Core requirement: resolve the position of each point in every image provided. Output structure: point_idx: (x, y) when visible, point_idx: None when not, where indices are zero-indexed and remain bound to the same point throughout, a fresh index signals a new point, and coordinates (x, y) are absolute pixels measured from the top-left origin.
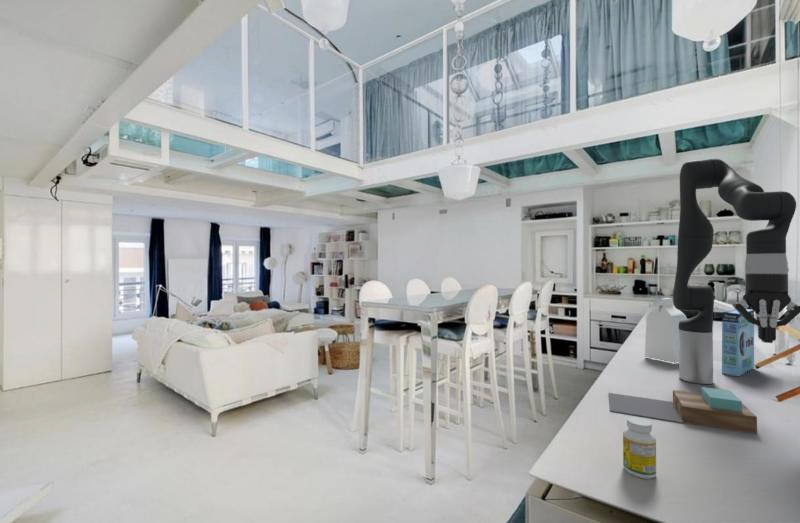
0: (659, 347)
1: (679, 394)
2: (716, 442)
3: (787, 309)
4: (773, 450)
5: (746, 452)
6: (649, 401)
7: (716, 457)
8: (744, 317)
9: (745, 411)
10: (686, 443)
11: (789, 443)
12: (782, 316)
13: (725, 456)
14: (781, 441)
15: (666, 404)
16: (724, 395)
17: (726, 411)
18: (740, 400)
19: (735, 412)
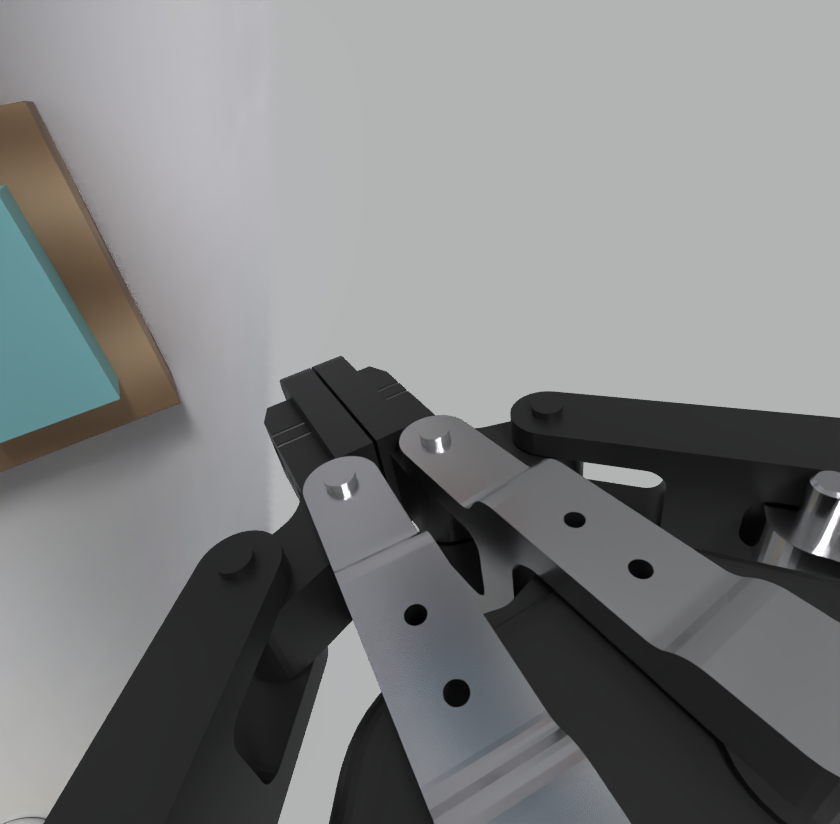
0: None
1: None
2: (85, 557)
3: (767, 560)
4: (227, 477)
5: (172, 552)
6: None
7: (118, 644)
8: (156, 679)
9: (129, 360)
10: (16, 640)
11: (261, 380)
12: (634, 466)
13: (135, 620)
14: (241, 381)
15: None
16: (15, 355)
17: (63, 429)
18: (111, 387)
19: (98, 411)
